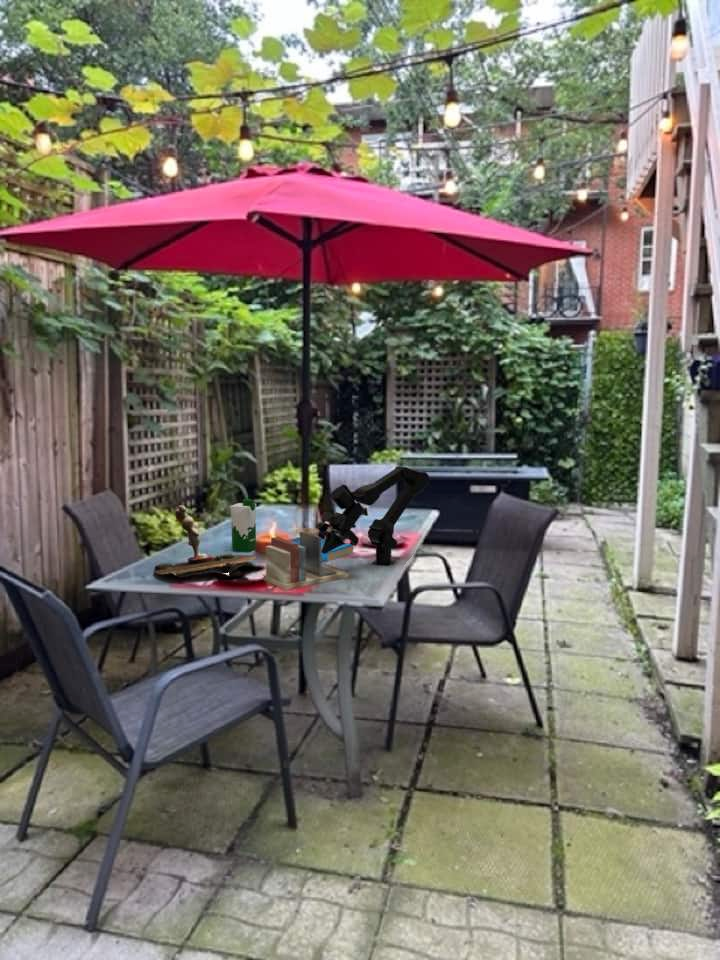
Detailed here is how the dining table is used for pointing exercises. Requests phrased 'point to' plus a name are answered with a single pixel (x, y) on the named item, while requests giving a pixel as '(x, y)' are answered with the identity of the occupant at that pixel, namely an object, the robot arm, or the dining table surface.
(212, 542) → the dining table surface
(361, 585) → the dining table surface
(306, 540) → the bookend
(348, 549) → the book
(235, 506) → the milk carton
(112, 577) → the dining table surface
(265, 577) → the book shelf
